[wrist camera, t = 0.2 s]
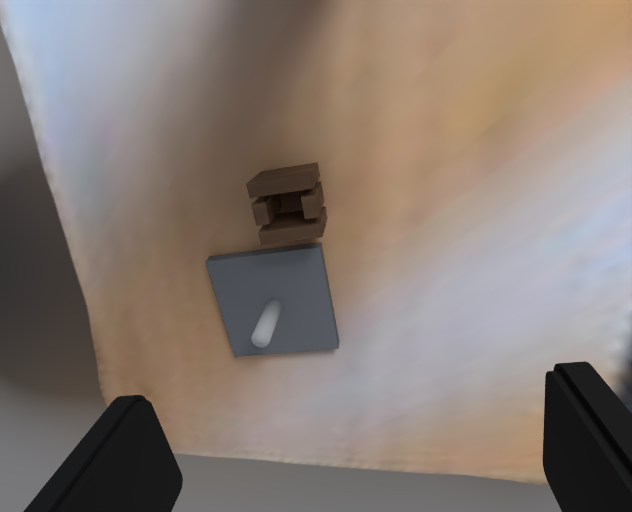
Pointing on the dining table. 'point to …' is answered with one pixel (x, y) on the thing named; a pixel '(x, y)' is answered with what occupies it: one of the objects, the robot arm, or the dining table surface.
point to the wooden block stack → (268, 204)
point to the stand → (275, 300)
